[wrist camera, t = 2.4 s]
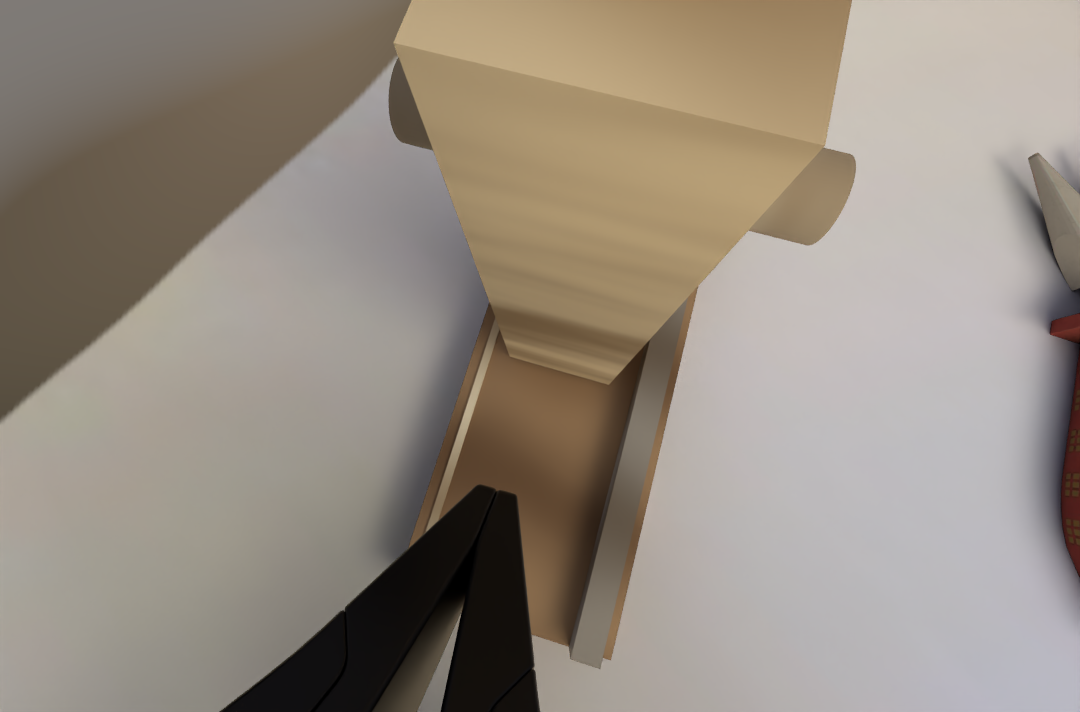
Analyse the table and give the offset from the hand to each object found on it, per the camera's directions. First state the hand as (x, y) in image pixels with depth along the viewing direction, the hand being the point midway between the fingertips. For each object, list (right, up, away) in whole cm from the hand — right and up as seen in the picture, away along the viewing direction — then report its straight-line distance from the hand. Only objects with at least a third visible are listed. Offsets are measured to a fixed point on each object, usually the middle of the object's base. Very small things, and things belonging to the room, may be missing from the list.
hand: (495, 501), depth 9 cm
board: (+2, +3, +10) cm, 11 cm away
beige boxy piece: (+2, +5, +9) cm, 10 cm away
